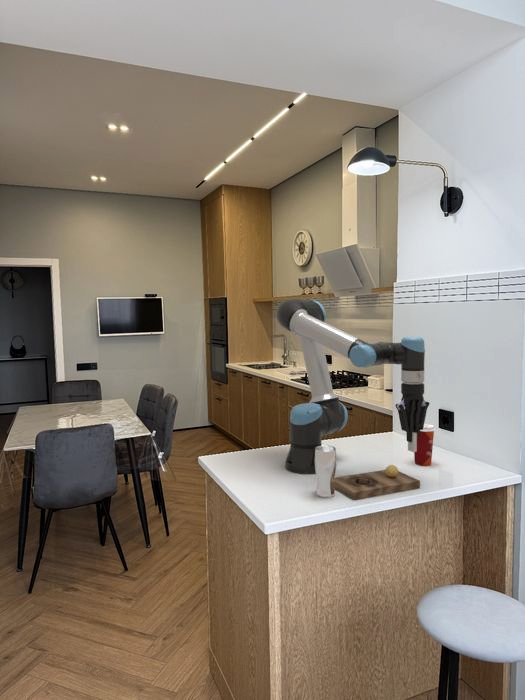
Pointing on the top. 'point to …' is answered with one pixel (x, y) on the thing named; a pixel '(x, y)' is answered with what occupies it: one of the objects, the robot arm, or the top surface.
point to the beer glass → (325, 470)
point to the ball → (391, 470)
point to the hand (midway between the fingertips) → (412, 450)
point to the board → (374, 484)
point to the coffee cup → (424, 446)
